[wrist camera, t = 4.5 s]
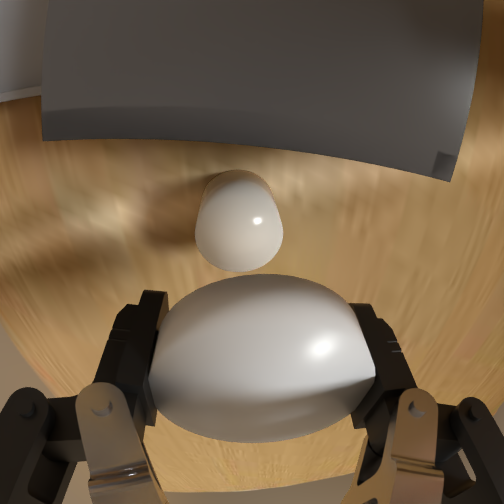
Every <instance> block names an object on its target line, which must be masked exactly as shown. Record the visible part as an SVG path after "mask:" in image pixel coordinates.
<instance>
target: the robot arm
mask: <svg viewBox="0 0 504 504" xmlns="http://www.w3.org/2000/svg"><path fill="white" fill-rule="evenodd" d="M349 305H350V307H351V308H352V310H353V311H354V313H355V315H356V317H357V320H358V323H359V325H360V328H361V330H362V333H363V336H364V338H365V341H366V344H367V346H368V349H369V352H370V355H371V357H372V360H373V363H374V366H375V380H374V383H373V385H372V386H371V388H370V389H369V391H368V392H367V394H366V395H365V397H364V398H363V399H362V401H361V402H360V404H359V405H358V406H357V408H356V409H355V410H354V411H353V412H351V418H352V422H353V426H354V429H359V428H366V430H367V435H366V436H365V438H364V440H363V444H362V448H361V451H360V455H359V459H358V463H357V466H356V470H355V473H354V477H353V481H352V484H351V486H350V489H349V491H348V492H347V493H346V495H345V496H344V498H343V500H342V501H341V504H504V436H503V435H502V433H501V431H500V429H499V427H498V426H497V424H496V422H495V420H494V419H493V417H492V415H491V413H490V412H489V410H488V408H487V407H486V405H485V404H484V403H483V402H482V401H481V400H479V399H477V398H474V397H467V398H465V399H463V400H462V401H461V402H460V403H459V404H458V405H457V406H453V405H445V404H439V403H436V401H435V399H434V398H433V397H432V396H431V395H430V394H429V393H428V392H426V391H424V390H422V389H418V387H417V385H416V383H415V381H414V378H413V376H412V373H411V371H410V369H409V366H408V364H407V362H406V359H405V357H404V355H403V353H401V348H400V346H399V343H397V339H396V337H395V334H394V332H393V330H392V328H391V327H390V326H389V325H388V324H387V323H386V322H385V321H384V320H383V319H382V318H377V317H376V314H375V312H374V310H373V308H372V306H371V305H370V304H364V303H349ZM168 312H169V306H168V294H167V292H164V291H153V290H144V291H143V293H142V296H141V299H140V302H139V305H132V304H127V305H126V306H125V307H124V308H123V309H122V310H121V311H120V312H119V313H118V314H117V316H116V319H115V321H114V324H113V327H112V330H111V332H110V335H109V340H107V343H106V346H105V349H104V352H103V355H102V358H101V360H100V363H99V366H98V369H97V372H96V375H95V378H94V381H93V382H92V384H90V385H88V386H86V387H85V388H84V389H82V390H81V392H80V393H79V394H78V395H76V396H72V397H62V398H50V399H49V398H48V399H47V398H46V397H45V396H44V394H43V393H42V392H40V391H39V390H37V389H35V388H31V387H25V388H21V389H19V390H17V391H15V392H14V393H13V394H12V395H11V396H10V397H9V399H8V401H7V403H6V404H5V406H4V408H3V409H2V411H1V413H0V504H62V502H63V499H64V496H65V493H66V491H67V488H68V485H69V483H70V480H71V478H72V475H73V473H74V470H75V467H76V465H77V462H79V461H87V463H88V467H89V471H90V479H89V481H88V487H89V492H90V496H91V499H92V503H93V504H169V502H168V500H167V498H166V496H165V494H164V492H163V490H162V487H161V485H160V483H159V480H158V478H157V476H156V473H155V471H154V468H153V466H152V463H151V460H150V458H149V455H148V453H147V450H146V447H145V444H144V442H143V437H144V431H145V425H148V426H155V421H156V415H157V408H156V407H155V404H154V400H153V396H152V392H151V388H150V384H149V380H148V376H149V371H150V367H151V362H152V357H153V353H154V348H155V344H156V339H157V335H158V331H159V328H160V325H161V323H162V321H163V319H164V318H165V316H166V314H167V313H168ZM461 449H463V451H464V453H465V455H466V457H467V459H468V461H469V463H470V465H471V467H472V469H473V471H474V473H475V475H476V481H473V480H471V479H470V477H469V475H468V473H467V471H466V469H465V467H464V465H463V463H462V461H461V459H460V457H459V455H458V453H457V452H459V451H460V450H461Z"/></svg>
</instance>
